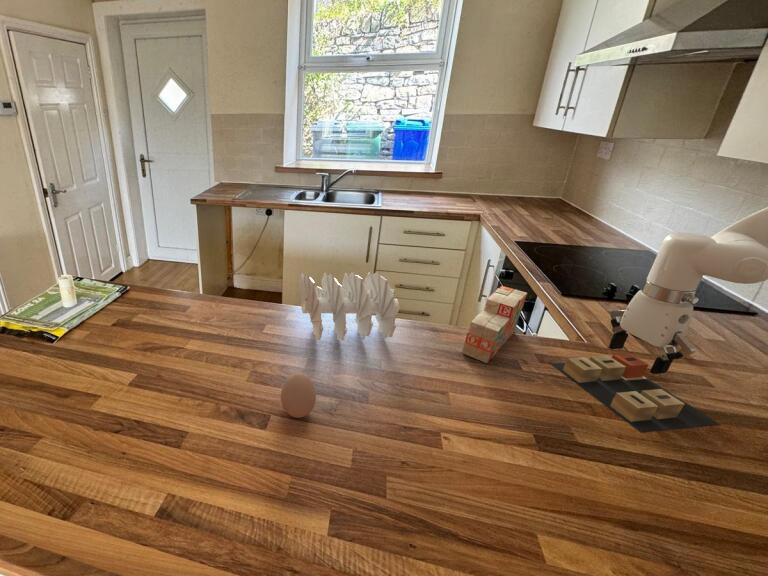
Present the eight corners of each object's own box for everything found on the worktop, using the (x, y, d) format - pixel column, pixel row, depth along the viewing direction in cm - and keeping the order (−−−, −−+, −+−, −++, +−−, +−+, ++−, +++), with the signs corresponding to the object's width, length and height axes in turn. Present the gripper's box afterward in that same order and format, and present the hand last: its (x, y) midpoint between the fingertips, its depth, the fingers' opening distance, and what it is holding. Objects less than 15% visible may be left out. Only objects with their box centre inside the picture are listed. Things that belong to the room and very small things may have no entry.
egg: (291, 398, 84) (293, 359, 80) (319, 411, 81) (324, 372, 77) (273, 416, 79) (275, 377, 75) (303, 432, 76) (307, 391, 72)
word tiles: (602, 367, 95) (608, 354, 93) (676, 417, 80) (685, 403, 78) (562, 370, 93) (567, 357, 92) (630, 421, 79) (638, 407, 77)
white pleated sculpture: (392, 353, 107) (301, 354, 104) (376, 300, 118) (292, 299, 115) (421, 313, 93) (316, 312, 90) (399, 258, 104) (305, 255, 101)
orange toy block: (623, 365, 95) (629, 352, 94) (642, 377, 91) (649, 364, 90) (607, 366, 95) (613, 353, 93) (625, 378, 91) (631, 365, 89)
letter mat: (615, 360, 98) (616, 358, 98) (719, 426, 79) (721, 424, 78) (549, 365, 96) (550, 363, 96) (639, 435, 76) (641, 432, 76)
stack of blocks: (487, 364, 96) (502, 320, 91) (460, 353, 100) (473, 310, 95) (514, 332, 110) (528, 292, 104) (489, 323, 114) (502, 284, 108)
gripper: (731, 310, 77) (691, 382, 84) (641, 275, 92) (614, 338, 99) (697, 312, 76) (660, 385, 83) (612, 277, 91) (587, 341, 99)
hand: (635, 359), depth 91 cm, fingers open, 9 cm apart
